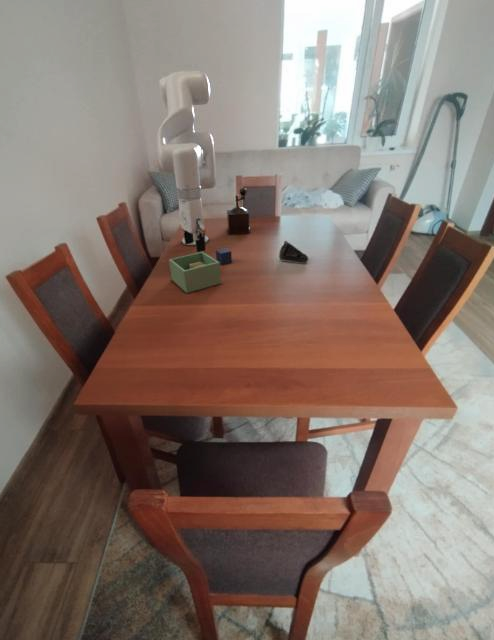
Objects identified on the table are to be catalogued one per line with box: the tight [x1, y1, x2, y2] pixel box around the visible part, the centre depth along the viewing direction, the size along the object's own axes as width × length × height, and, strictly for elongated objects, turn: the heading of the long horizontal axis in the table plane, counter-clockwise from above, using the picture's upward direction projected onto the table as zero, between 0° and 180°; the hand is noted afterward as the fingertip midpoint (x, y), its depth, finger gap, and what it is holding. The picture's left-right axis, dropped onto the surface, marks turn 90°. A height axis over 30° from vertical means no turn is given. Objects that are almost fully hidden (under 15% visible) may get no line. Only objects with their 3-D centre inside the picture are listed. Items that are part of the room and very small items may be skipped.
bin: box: [168, 251, 222, 294], centre depth 118 cm, size 14×14×8 cm
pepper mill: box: [226, 187, 251, 236], centre depth 164 cm, size 16×11×18 cm
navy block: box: [215, 247, 233, 266], centre depth 133 cm, size 5×5×5 cm
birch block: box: [189, 261, 205, 269], centre depth 121 cm, size 5×5×5 cm
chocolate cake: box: [278, 240, 309, 265], centre depth 133 cm, size 10×7×12 cm
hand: (195, 247), depth 116 cm, fingers open, 9 cm apart
